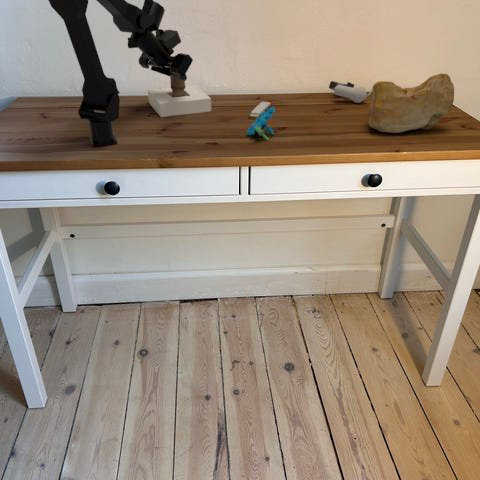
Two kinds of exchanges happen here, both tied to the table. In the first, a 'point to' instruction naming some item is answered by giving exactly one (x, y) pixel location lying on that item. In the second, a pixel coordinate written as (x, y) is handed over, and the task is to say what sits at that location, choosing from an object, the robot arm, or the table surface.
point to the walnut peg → (177, 86)
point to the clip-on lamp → (349, 91)
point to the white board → (179, 101)
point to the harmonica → (259, 110)
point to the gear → (262, 124)
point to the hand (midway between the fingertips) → (180, 78)
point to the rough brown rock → (410, 104)
